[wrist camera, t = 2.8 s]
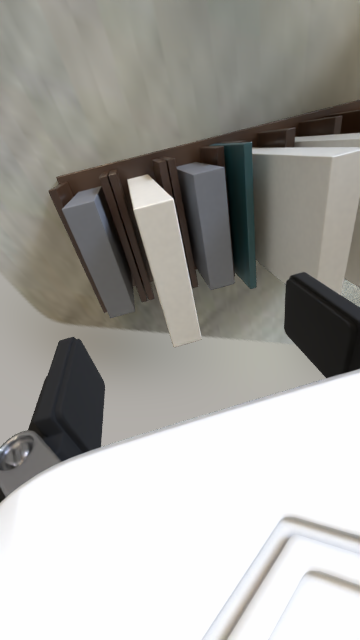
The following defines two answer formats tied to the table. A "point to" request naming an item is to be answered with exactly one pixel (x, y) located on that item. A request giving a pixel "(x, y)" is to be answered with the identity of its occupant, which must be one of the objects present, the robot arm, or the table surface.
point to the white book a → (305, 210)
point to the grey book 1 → (101, 249)
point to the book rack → (162, 168)
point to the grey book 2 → (208, 221)
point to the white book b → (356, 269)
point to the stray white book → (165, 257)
